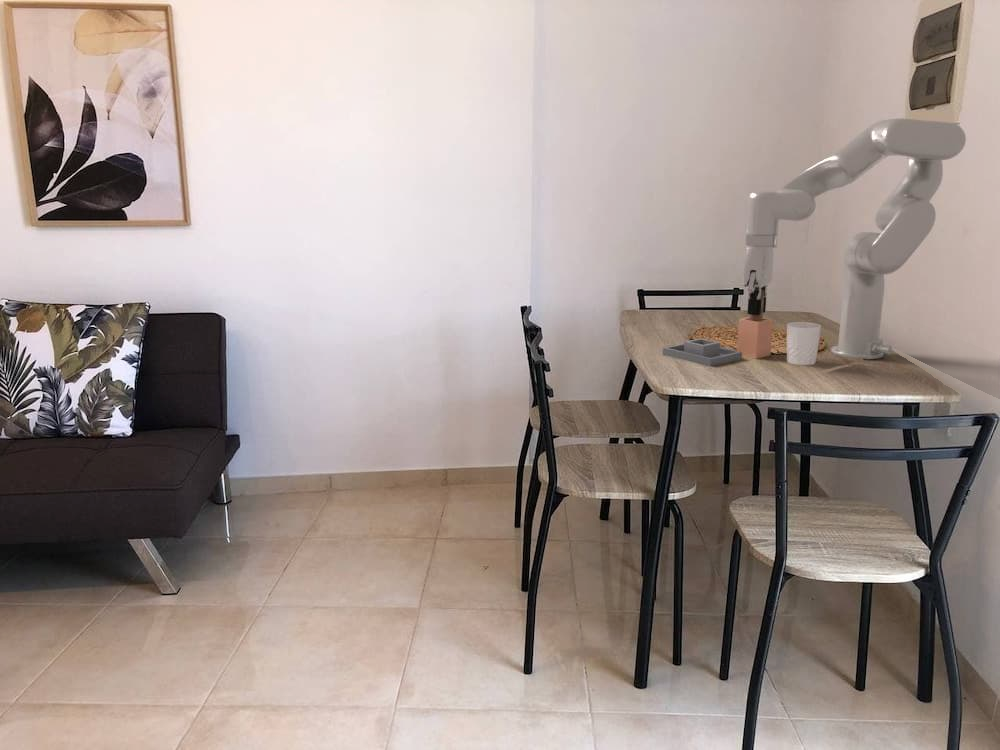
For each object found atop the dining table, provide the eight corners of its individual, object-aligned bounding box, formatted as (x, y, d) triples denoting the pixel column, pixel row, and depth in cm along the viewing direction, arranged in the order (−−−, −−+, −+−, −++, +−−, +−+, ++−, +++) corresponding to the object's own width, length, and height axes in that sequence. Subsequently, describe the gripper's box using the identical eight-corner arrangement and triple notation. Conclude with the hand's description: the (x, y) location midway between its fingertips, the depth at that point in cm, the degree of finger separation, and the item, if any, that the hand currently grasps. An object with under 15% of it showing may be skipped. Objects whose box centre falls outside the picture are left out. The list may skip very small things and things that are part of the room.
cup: (770, 357, 204) (773, 319, 202) (755, 360, 201) (758, 322, 198) (751, 353, 209) (753, 316, 206) (736, 356, 206) (738, 319, 203)
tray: (741, 361, 201) (742, 344, 200) (710, 368, 194) (711, 350, 193) (693, 350, 214) (694, 334, 212) (662, 356, 207) (663, 340, 206)
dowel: (762, 354, 204) (767, 290, 200) (754, 356, 203) (759, 291, 198) (752, 352, 207) (756, 288, 203) (744, 354, 205) (748, 290, 201)
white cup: (801, 369, 192) (805, 329, 189) (777, 362, 199) (780, 324, 196) (824, 365, 195) (828, 326, 193) (799, 359, 202) (802, 320, 200)
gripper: (756, 238, 206) (751, 307, 211) (735, 243, 193) (731, 317, 198) (785, 239, 202) (780, 309, 206) (766, 245, 189) (761, 320, 193)
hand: (756, 312), depth 202 cm, fingers closed on dowel, 3 cm apart
